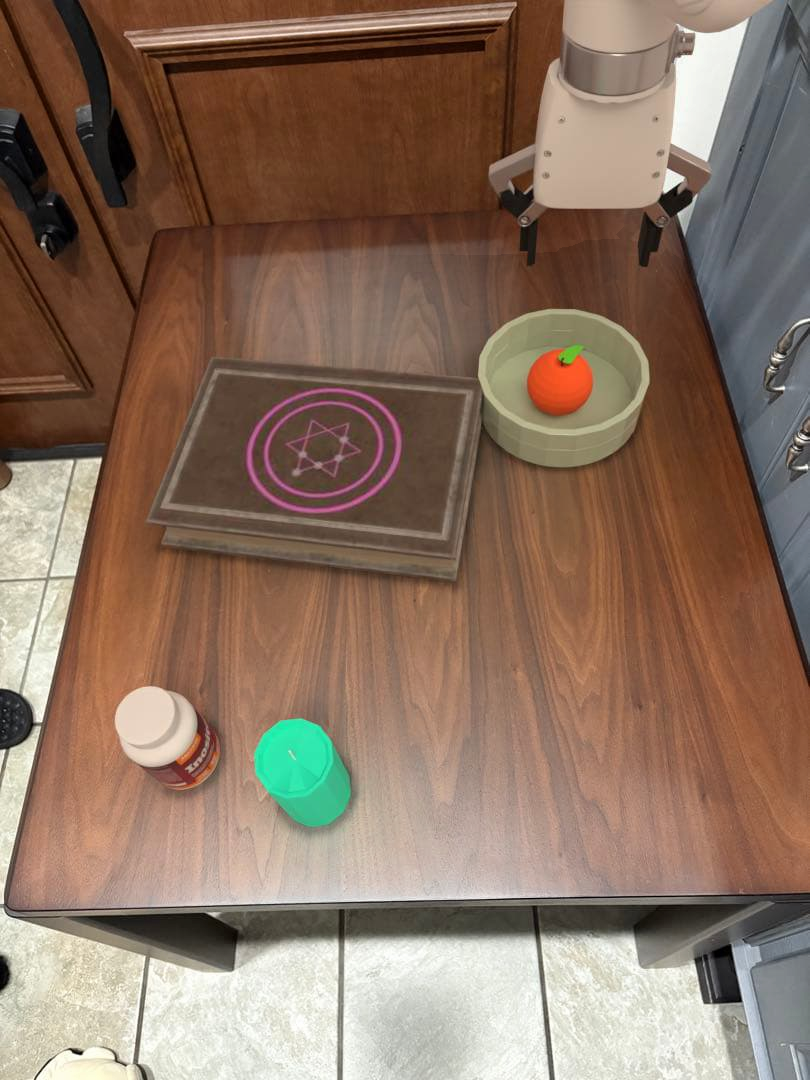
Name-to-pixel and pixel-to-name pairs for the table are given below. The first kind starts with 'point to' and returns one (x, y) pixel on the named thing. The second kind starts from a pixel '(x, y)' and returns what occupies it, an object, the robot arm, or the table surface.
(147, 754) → the pill bottle
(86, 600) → the table surface
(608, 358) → the bowl
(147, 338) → the table surface
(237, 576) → the table surface
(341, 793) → the candle
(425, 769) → the table surface
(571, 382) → the clementine
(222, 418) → the book
